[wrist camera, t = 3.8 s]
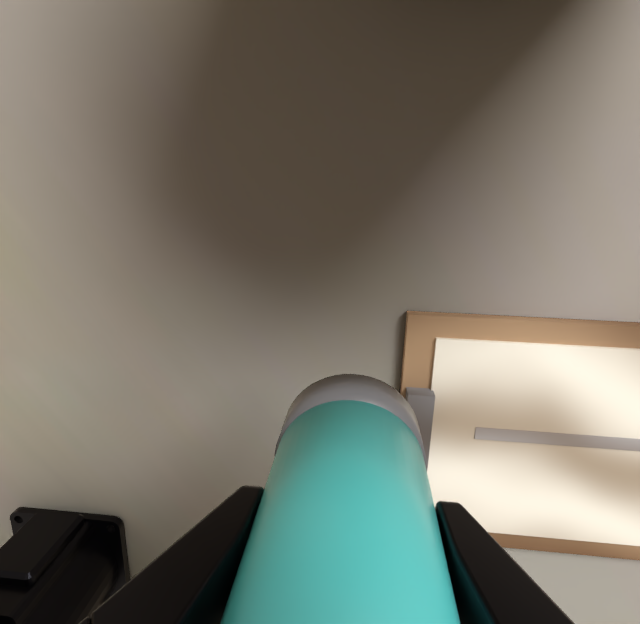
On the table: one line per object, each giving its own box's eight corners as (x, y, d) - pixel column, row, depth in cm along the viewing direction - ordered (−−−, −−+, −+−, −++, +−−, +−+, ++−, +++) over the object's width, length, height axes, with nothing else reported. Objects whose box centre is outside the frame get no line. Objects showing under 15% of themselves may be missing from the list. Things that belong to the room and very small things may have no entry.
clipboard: (668, 553, 22) (688, 577, 21) (388, 527, 23) (390, 548, 22) (737, 327, 19) (766, 338, 17) (406, 310, 20) (409, 319, 18)
